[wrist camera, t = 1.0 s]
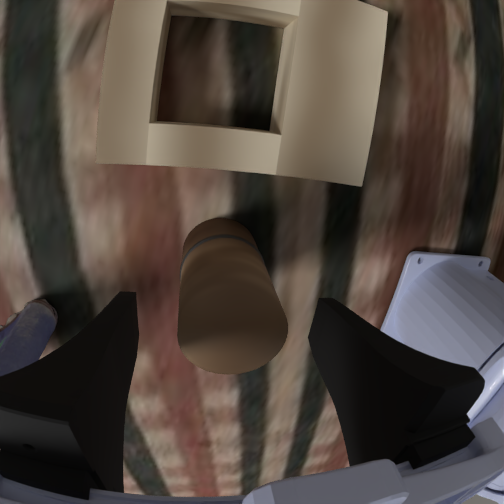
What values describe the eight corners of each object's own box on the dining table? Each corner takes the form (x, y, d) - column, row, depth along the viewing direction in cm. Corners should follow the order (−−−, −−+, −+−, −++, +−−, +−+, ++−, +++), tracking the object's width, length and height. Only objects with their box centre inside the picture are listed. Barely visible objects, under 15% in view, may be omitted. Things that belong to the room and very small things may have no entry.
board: (364, 21, 13) (387, 11, 11) (341, 175, 17) (361, 186, 15) (133, -14, 11) (122, -32, 9) (110, 155, 14) (95, 163, 12)
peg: (262, 220, 17) (299, 289, 11) (252, 286, 19) (278, 374, 13) (183, 214, 16) (176, 285, 10) (180, 283, 18) (176, 374, 12)
